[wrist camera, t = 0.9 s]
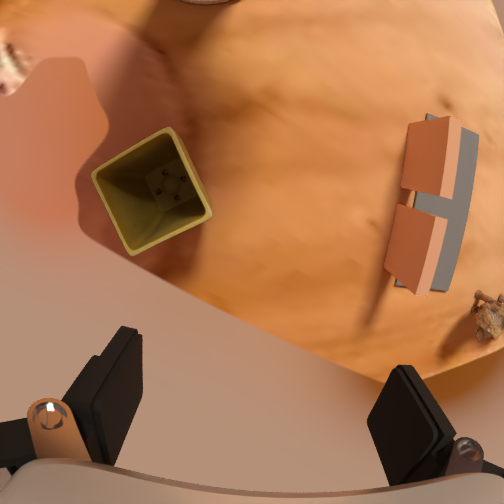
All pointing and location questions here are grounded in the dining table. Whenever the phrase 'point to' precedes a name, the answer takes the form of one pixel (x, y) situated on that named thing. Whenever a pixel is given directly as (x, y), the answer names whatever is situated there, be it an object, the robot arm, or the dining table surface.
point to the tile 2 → (432, 156)
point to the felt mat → (452, 209)
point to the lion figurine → (489, 317)
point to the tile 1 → (415, 248)
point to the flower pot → (152, 191)
